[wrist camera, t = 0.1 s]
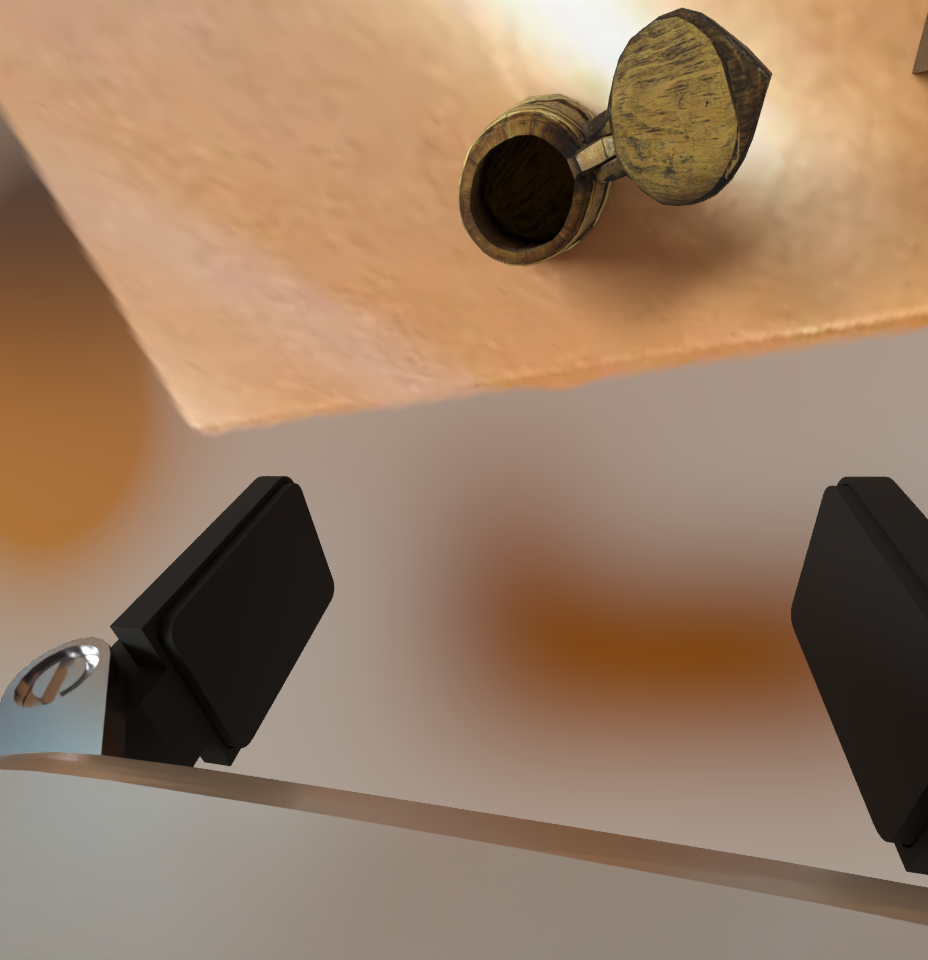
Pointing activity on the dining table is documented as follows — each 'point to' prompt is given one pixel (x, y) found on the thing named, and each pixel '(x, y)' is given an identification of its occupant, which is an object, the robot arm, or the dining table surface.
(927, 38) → the block
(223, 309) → the dining table surface
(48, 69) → the dining table surface
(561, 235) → the wooden mug
